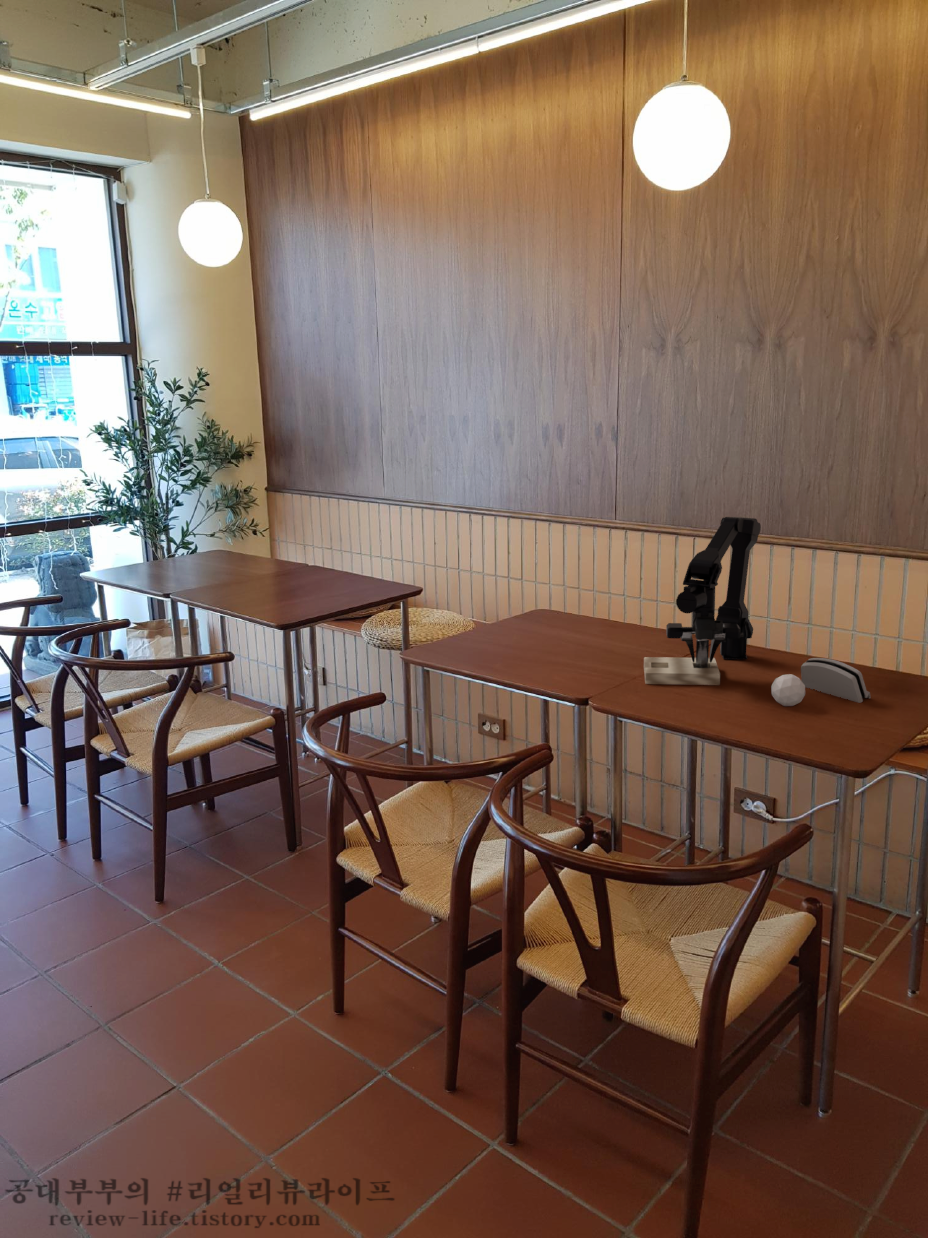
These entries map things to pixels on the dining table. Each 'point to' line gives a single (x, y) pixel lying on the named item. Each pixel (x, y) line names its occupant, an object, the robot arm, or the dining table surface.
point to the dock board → (679, 671)
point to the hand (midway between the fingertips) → (702, 661)
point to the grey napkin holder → (834, 679)
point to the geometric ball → (788, 690)
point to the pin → (702, 653)
